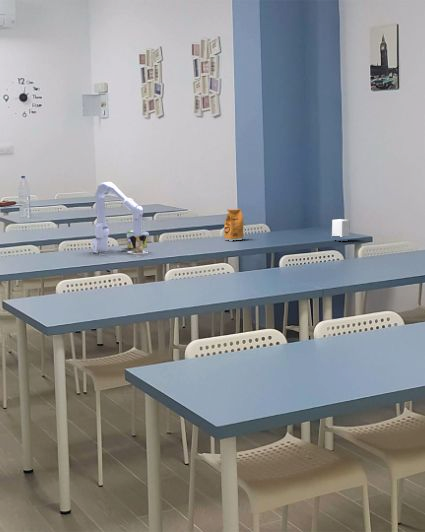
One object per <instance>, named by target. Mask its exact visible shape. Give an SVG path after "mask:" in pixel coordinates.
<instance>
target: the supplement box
mask: <svg viewBox="0 0 425 532" xmlns="http://www.w3.org/2000/svg"><path fill="white" fill-rule="evenodd" d="M331 221H332V222H331V223H332V225H331V237H332V236H340V237H343V236H348V235H349V236H350V228H351V227H350V225H351V220H350V219H345V218H344V219H343V218H339V219H332V220H331Z"/></svg>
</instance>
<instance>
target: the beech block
mask: <svg viewBox="0 0 425 532" xmlns="http://www.w3.org/2000/svg"><path fill="white" fill-rule="evenodd" d="M143 250H144V248H143V241H140V240H136V248H135V249H134V248H133V252H132V253H143Z"/></svg>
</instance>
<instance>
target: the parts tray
mask: <svg viewBox="0 0 425 532" xmlns="http://www.w3.org/2000/svg"><path fill="white" fill-rule="evenodd" d="M126 253H128V254H130V255H142V254H149V252H148V251H146V250H144V251H143V252H140V253H135V252H133V251H129V252H126Z"/></svg>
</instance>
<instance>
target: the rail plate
mask: <svg viewBox="0 0 425 532" xmlns="http://www.w3.org/2000/svg"><path fill="white" fill-rule="evenodd" d="M129 251H133V248H128V247H126V248H125V247H124V248H121V249H120V250H117V252H118V253H127V252H129ZM143 251H145V250H144V249H143Z"/></svg>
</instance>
